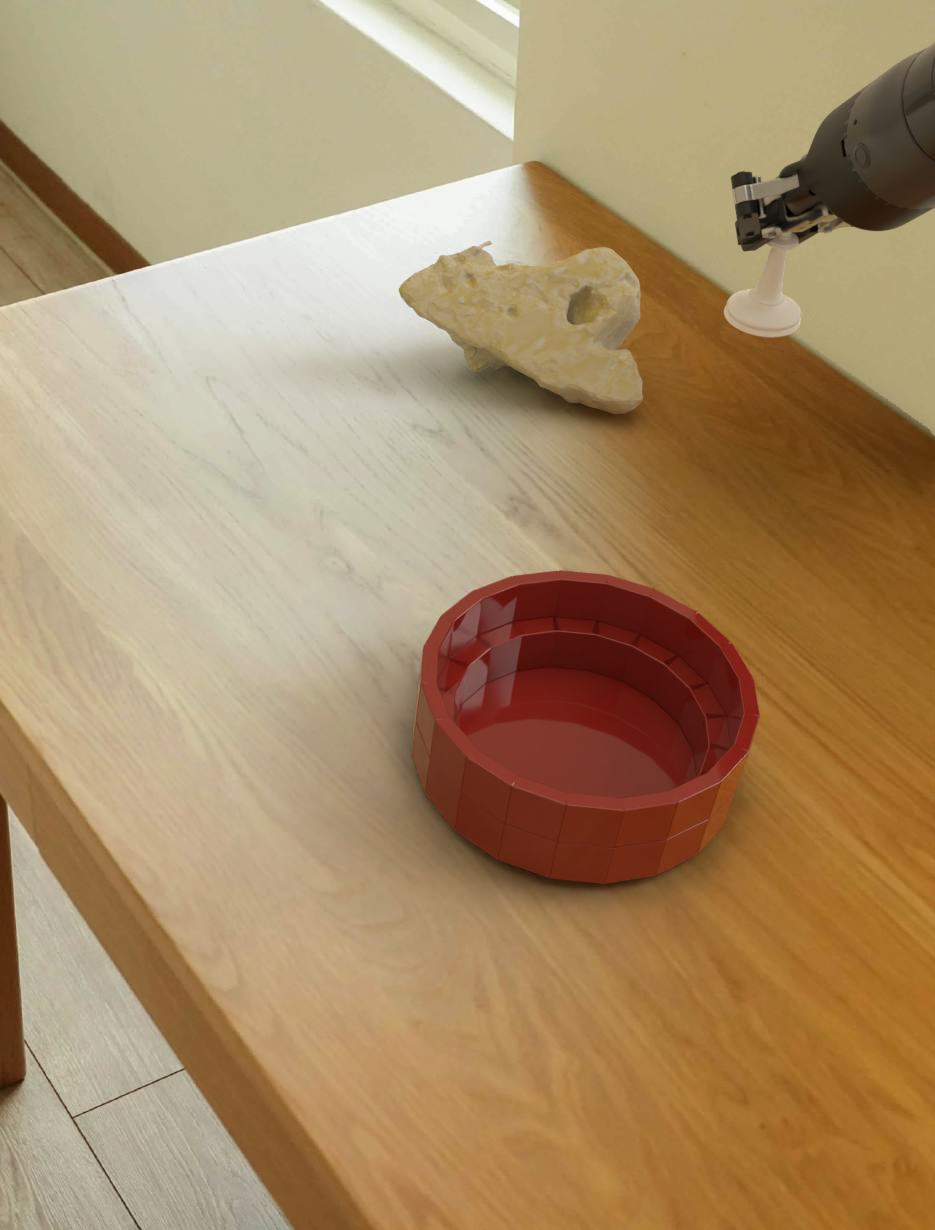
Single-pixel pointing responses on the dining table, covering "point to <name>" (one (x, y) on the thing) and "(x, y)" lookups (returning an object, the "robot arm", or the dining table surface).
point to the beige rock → (540, 320)
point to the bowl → (582, 725)
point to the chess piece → (767, 297)
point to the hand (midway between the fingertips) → (764, 233)
